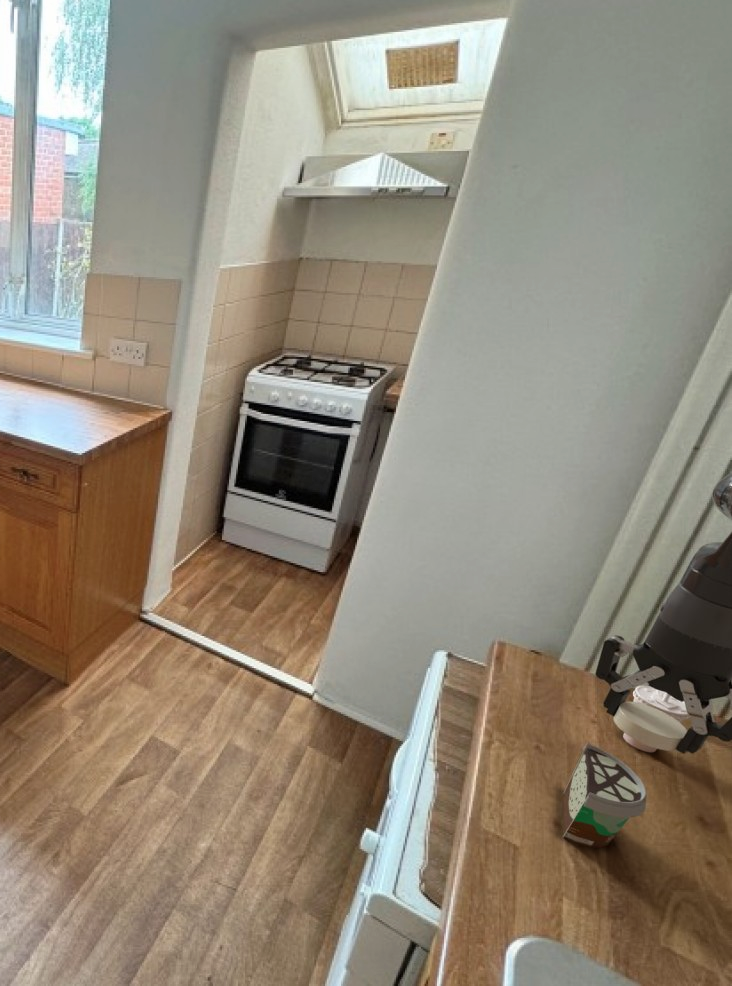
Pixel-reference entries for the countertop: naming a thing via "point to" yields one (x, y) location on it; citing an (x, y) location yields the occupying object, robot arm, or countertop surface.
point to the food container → (600, 798)
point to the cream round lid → (649, 726)
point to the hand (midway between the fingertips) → (646, 730)
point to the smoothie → (659, 702)
